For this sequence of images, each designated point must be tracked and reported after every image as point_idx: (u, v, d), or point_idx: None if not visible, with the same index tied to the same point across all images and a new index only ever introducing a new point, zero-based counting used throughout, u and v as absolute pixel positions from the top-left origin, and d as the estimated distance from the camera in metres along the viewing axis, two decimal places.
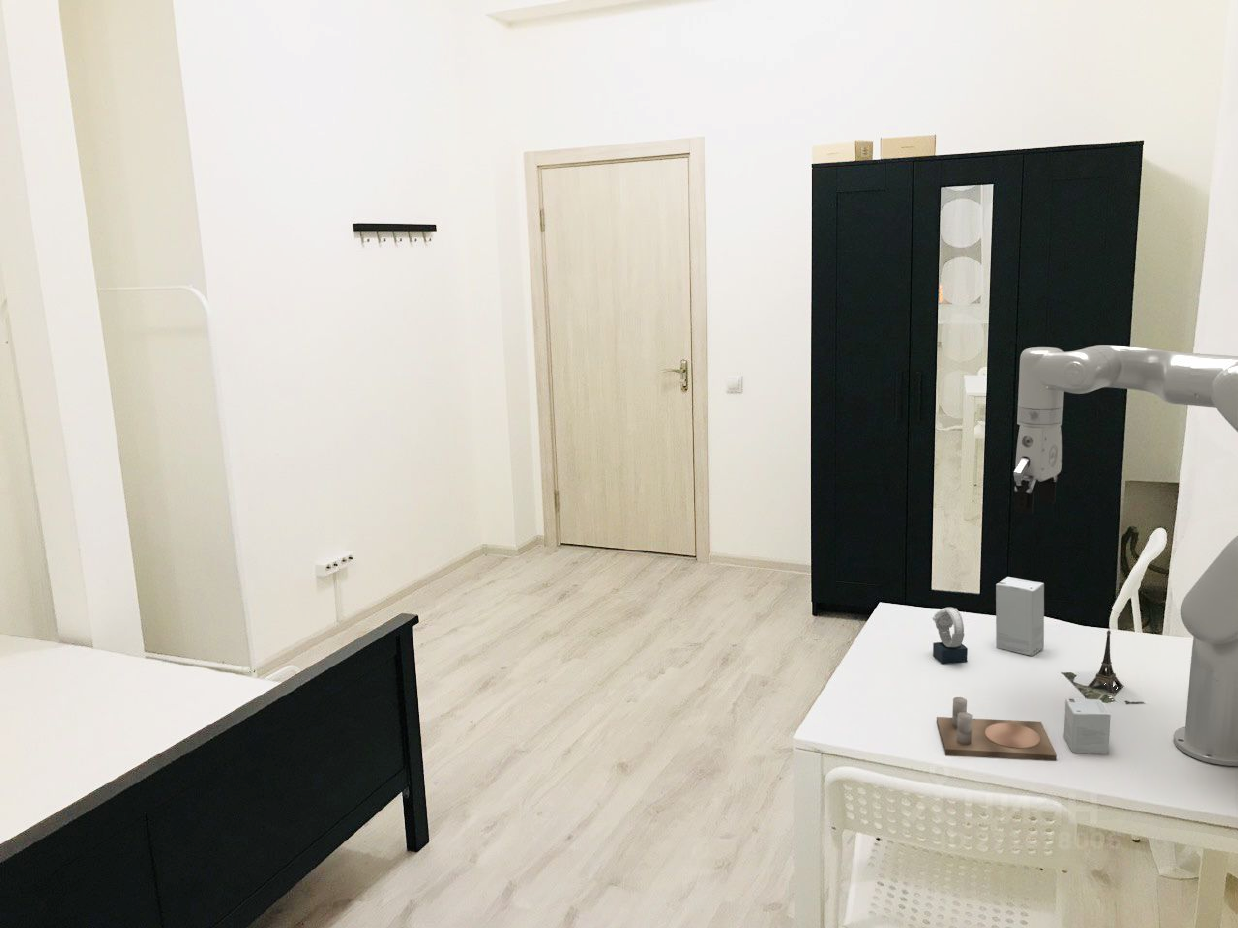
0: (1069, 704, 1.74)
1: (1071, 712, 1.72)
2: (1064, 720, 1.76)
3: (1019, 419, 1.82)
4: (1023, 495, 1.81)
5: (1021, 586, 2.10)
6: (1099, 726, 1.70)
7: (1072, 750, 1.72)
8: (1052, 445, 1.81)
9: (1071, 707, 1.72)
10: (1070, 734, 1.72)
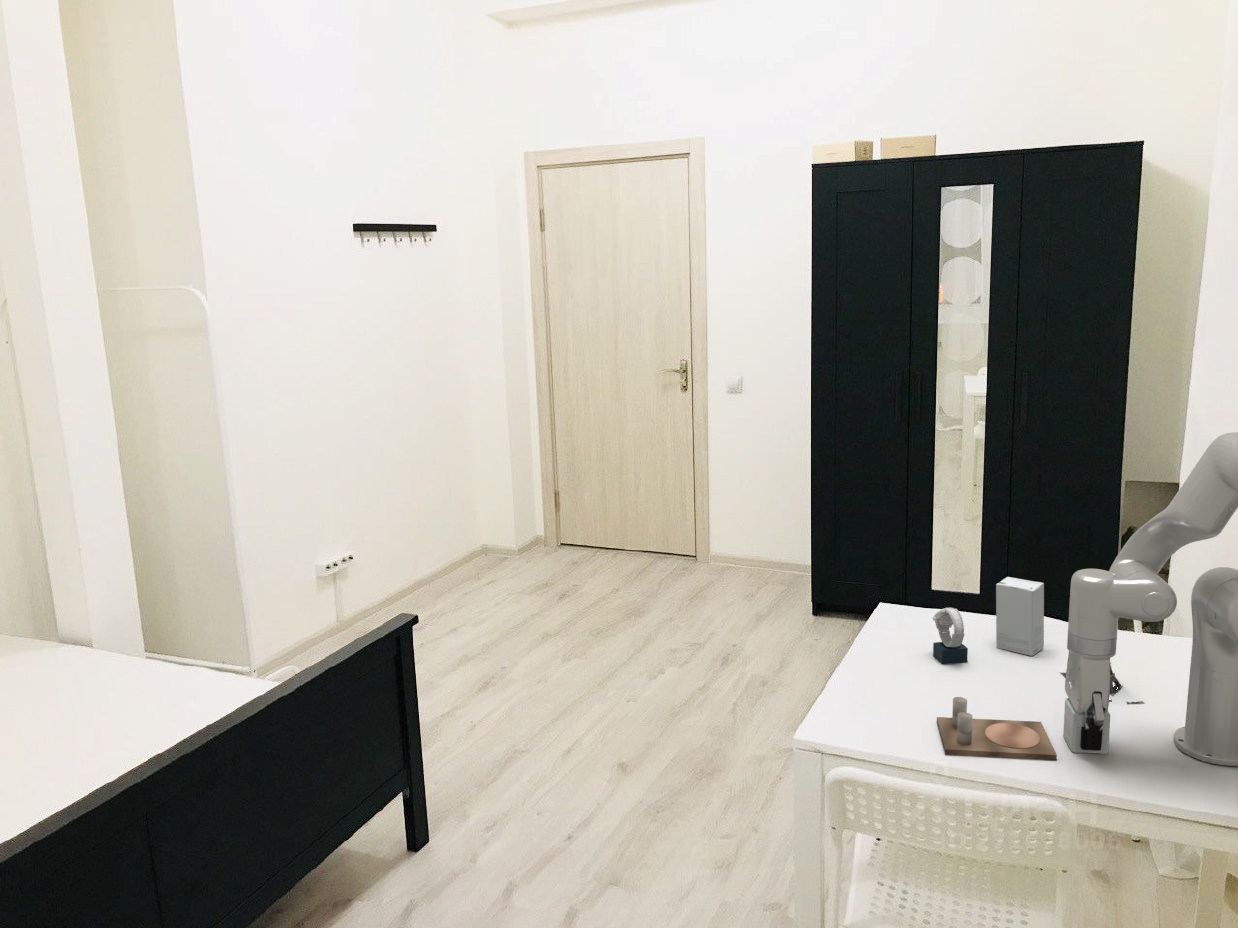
0: (1069, 704, 1.74)
1: (1071, 712, 1.72)
2: (1064, 720, 1.76)
3: None
4: None
5: (1021, 586, 2.10)
6: None
7: (1072, 750, 1.72)
8: (1071, 667, 1.72)
9: (1071, 707, 1.72)
10: (1070, 734, 1.72)
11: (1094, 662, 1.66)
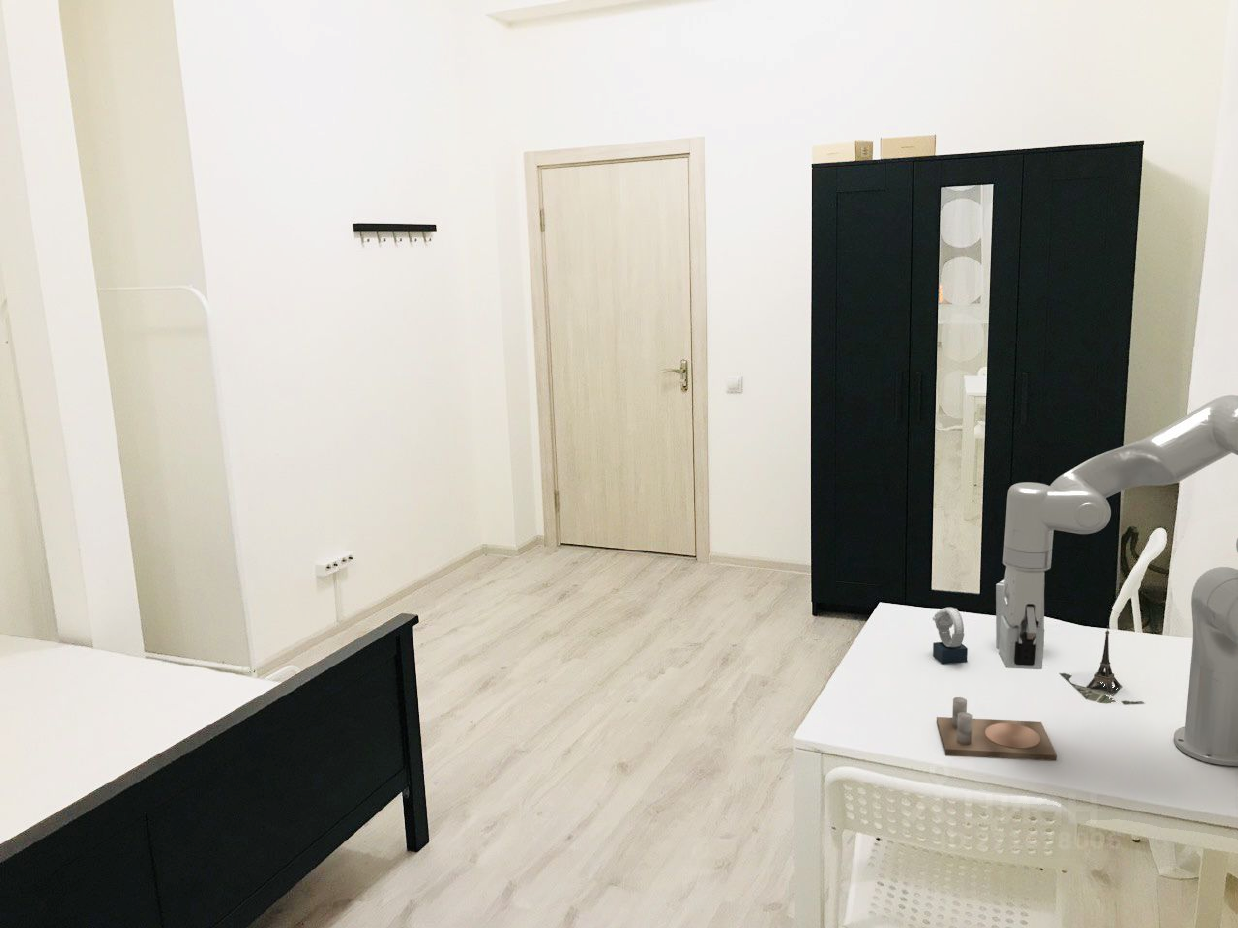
0: (1004, 620, 1.72)
1: (1005, 627, 1.70)
2: (1000, 637, 1.75)
3: None
4: None
5: None
6: None
7: (1006, 665, 1.70)
8: (1006, 582, 1.71)
9: (1006, 622, 1.71)
10: (1004, 649, 1.71)
11: (1028, 575, 1.65)
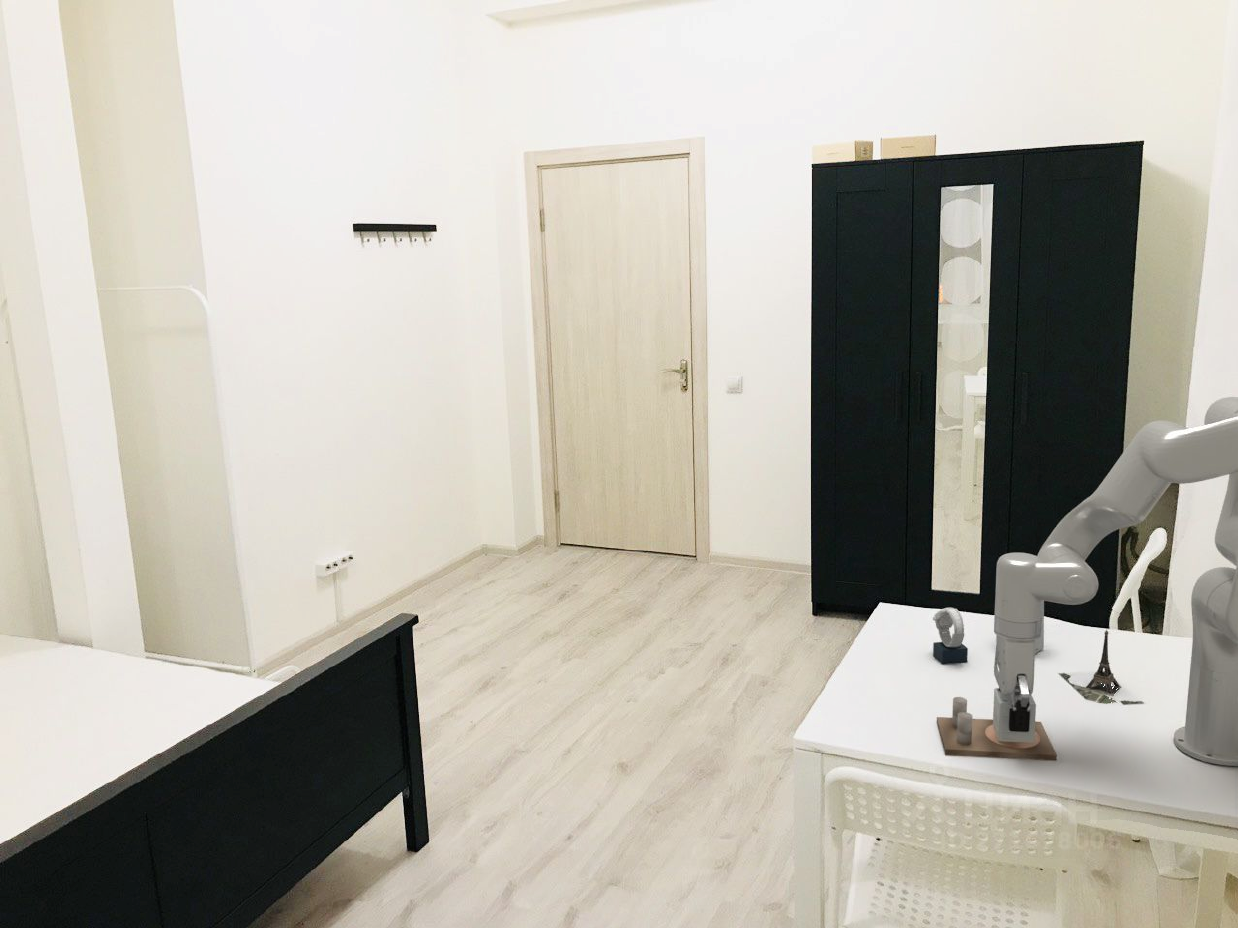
0: (997, 694, 1.76)
1: (998, 701, 1.74)
2: (993, 710, 1.78)
3: None
4: None
5: None
6: None
7: (999, 739, 1.74)
8: (998, 650, 1.74)
9: (998, 697, 1.75)
10: (997, 723, 1.74)
11: (1018, 645, 1.68)
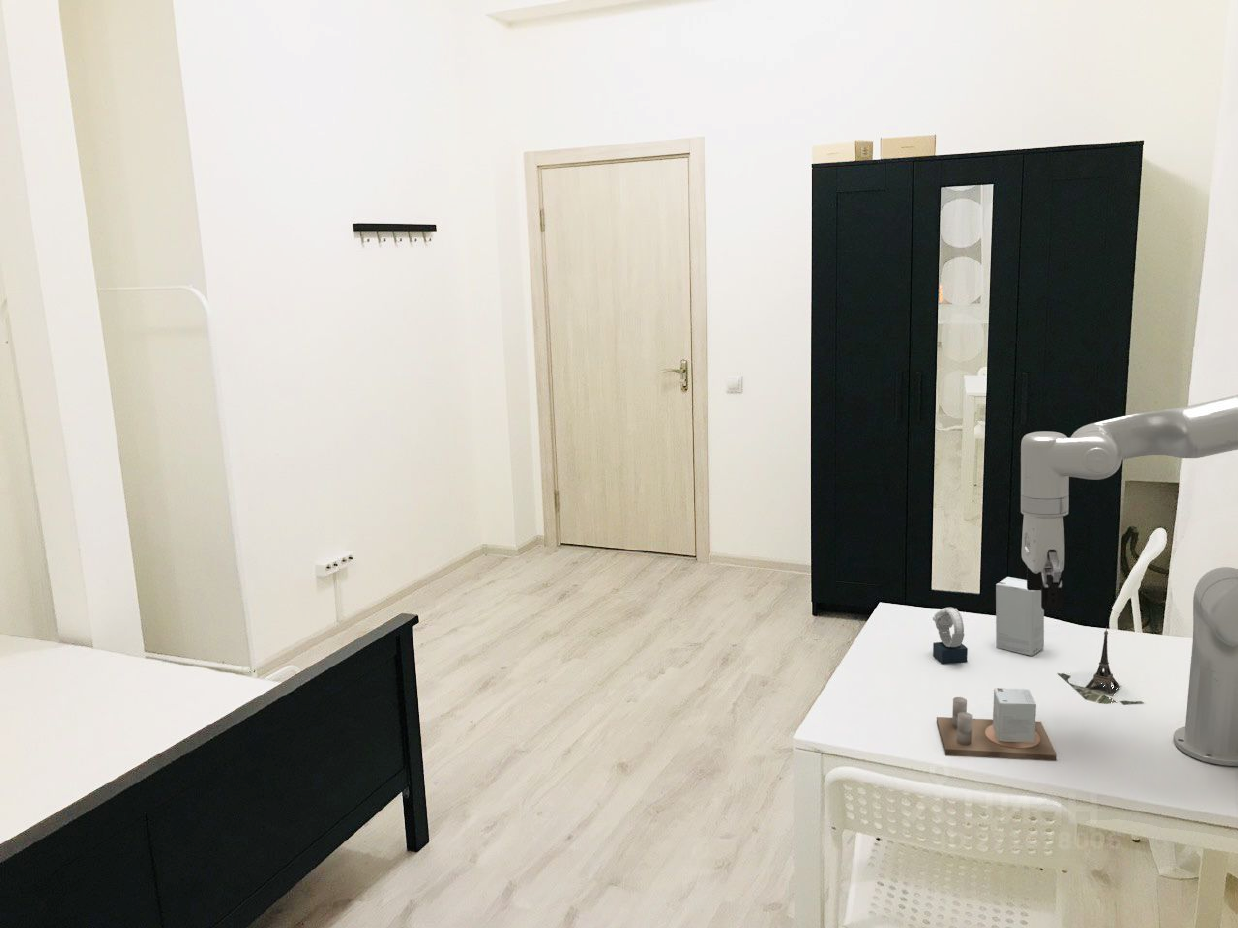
0: (997, 694, 1.76)
1: (998, 701, 1.74)
2: (993, 710, 1.78)
3: None
4: None
5: (1021, 586, 2.10)
6: (1024, 715, 1.72)
7: (999, 739, 1.74)
8: (1026, 531, 1.74)
9: (998, 697, 1.75)
10: (997, 723, 1.74)
11: (1047, 521, 1.68)
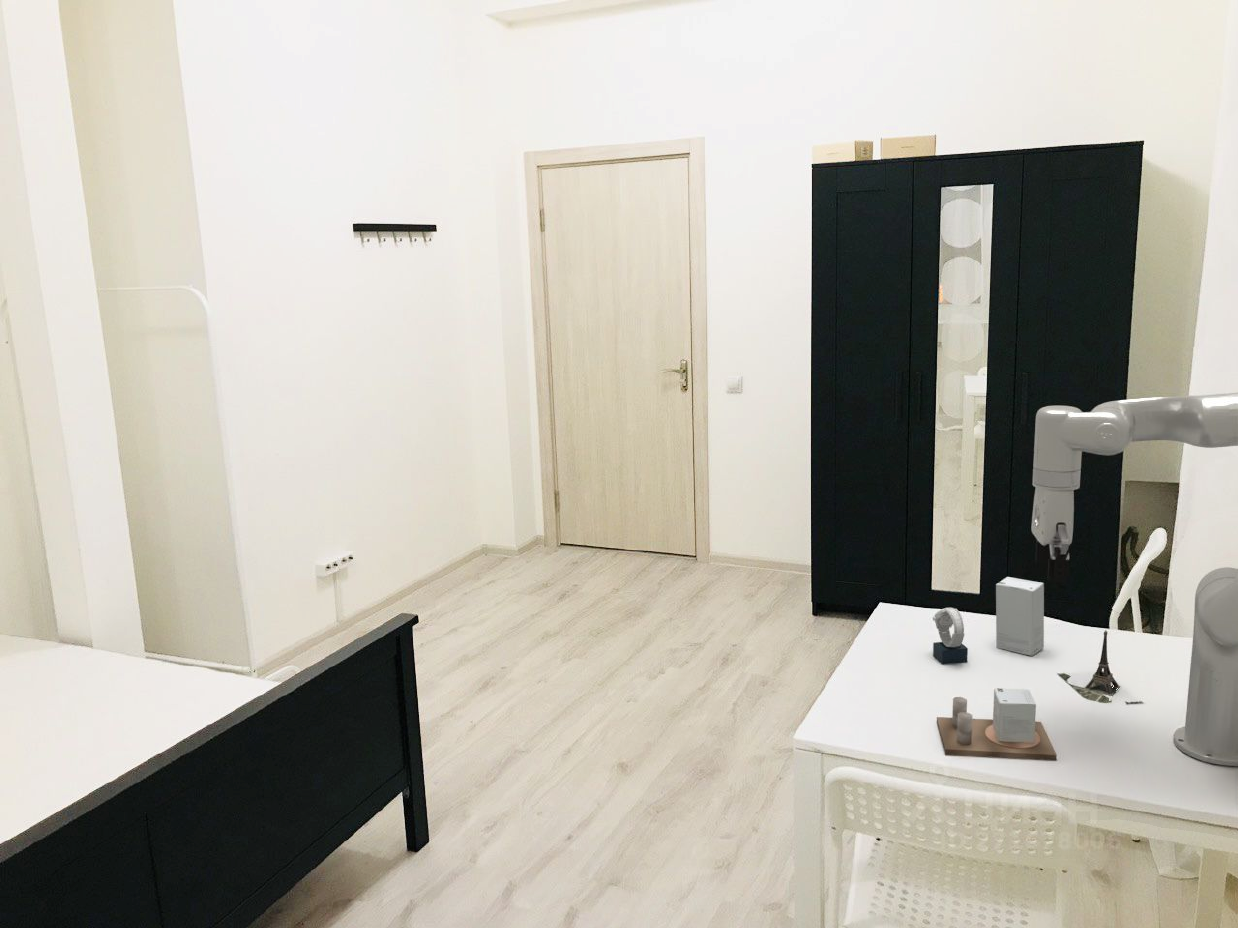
0: (997, 694, 1.76)
1: (998, 701, 1.74)
2: (993, 710, 1.78)
3: None
4: None
5: (1021, 586, 2.10)
6: (1024, 715, 1.72)
7: (999, 739, 1.74)
8: (1036, 504, 1.76)
9: (998, 697, 1.75)
10: (997, 723, 1.74)
11: (1057, 493, 1.70)
